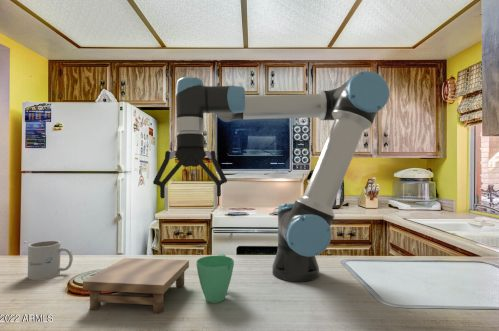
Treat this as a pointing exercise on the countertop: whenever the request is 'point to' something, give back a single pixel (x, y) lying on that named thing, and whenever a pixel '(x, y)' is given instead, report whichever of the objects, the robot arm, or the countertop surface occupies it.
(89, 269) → the countertop surface
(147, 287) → the stool
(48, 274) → the mug
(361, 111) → the robot arm
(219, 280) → the green cup
